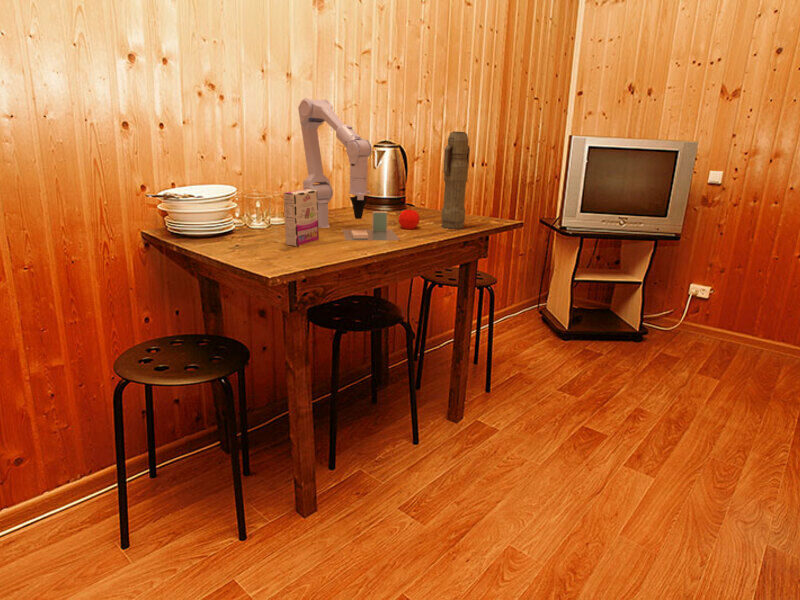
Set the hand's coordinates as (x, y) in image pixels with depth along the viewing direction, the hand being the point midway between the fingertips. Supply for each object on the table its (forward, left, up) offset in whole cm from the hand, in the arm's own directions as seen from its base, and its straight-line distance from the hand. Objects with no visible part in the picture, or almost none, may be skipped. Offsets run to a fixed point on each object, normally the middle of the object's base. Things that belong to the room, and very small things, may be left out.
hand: (358, 218), depth 183 cm
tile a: (0, -1, -5) cm, 5 cm away
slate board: (+4, 0, -6) cm, 7 cm away
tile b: (+8, +5, -6) cm, 11 cm away
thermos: (+38, +17, -6) cm, 42 cm away
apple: (+20, +12, -6) cm, 24 cm away
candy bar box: (-19, -10, -6) cm, 22 cm away
